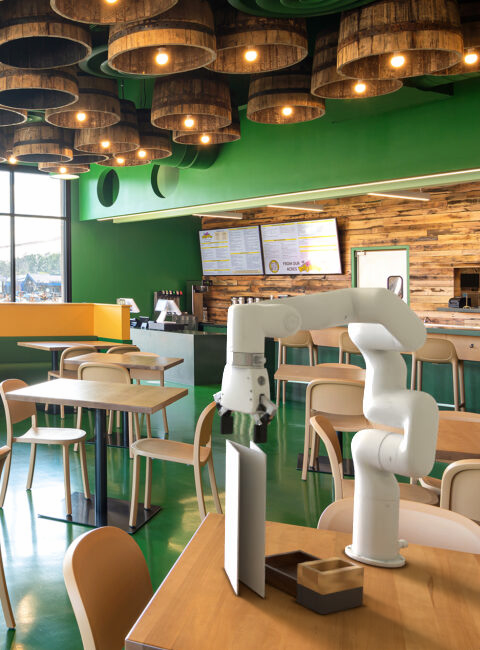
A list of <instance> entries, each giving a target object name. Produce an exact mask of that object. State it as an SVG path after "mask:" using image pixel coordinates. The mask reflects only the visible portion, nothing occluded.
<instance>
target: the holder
mask: <svg viewBox="0 0 480 650" xmlns="http://www.w3.org/2000/svg"><path fill="white" fill-rule="evenodd" d="M322 559H323V558H321V557H318V556H316V555H313V554H311V553H309V552H306V551H304V550H301V549H297V550H292V551H285V552H280V553H273V554H267V555H265V584H268V585H270V586H273V587H275V588H277V589H278V590H281V591H283V592H285V593H287V594H289V595H291V596H293V597H295V598H297V571H298V564H300V563H305V562H311V561H316V560H322Z"/></svg>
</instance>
